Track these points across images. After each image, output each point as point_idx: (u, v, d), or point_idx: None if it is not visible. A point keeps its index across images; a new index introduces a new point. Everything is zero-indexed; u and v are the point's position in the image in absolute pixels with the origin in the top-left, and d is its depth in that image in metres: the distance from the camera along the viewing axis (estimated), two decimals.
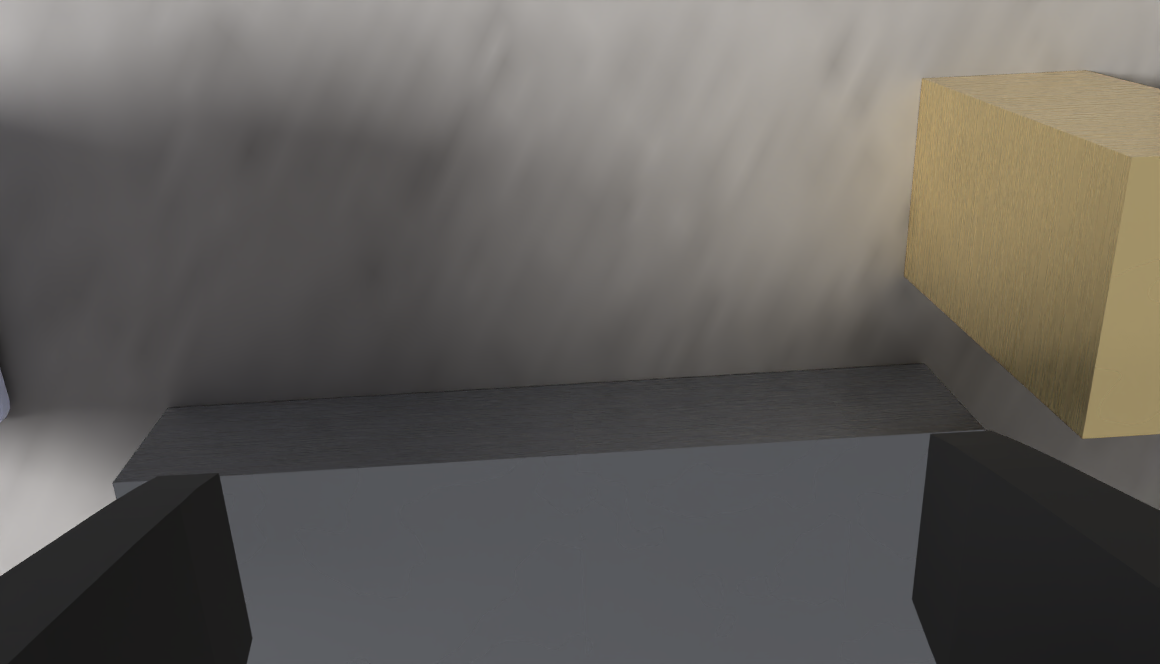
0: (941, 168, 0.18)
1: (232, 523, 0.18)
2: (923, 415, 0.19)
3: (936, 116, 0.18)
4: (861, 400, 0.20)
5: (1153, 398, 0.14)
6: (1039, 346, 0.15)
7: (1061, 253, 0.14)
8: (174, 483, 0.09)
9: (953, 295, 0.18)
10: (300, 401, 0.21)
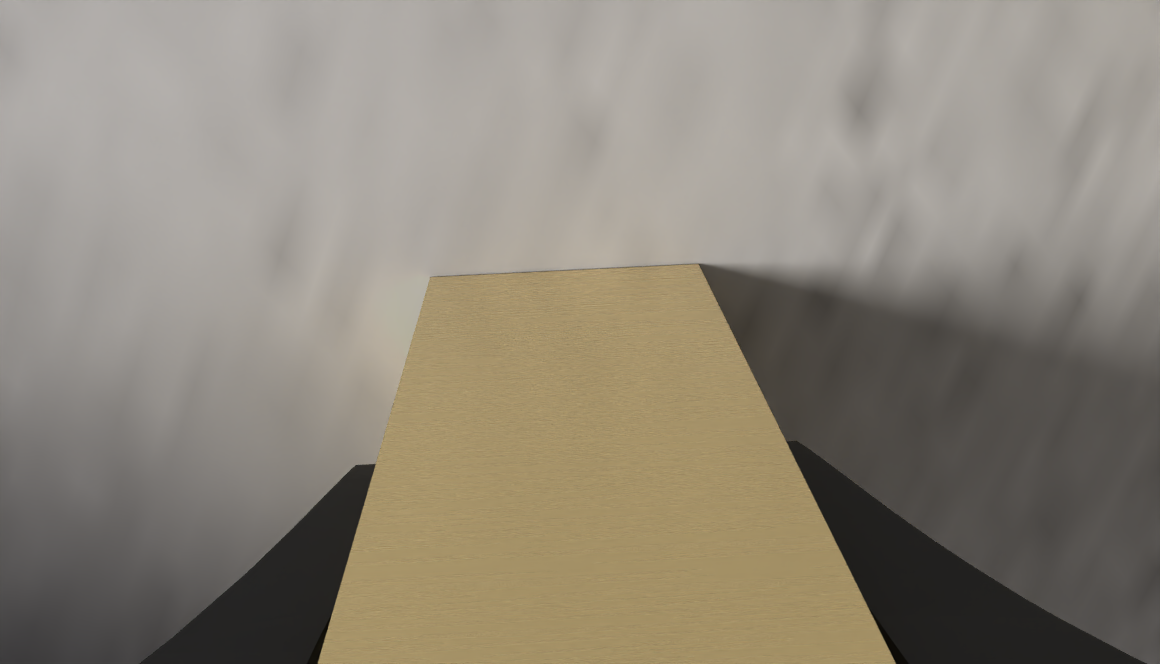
0: None
1: None
2: None
3: None
4: None
5: None
6: None
7: None
8: None
9: None
10: None
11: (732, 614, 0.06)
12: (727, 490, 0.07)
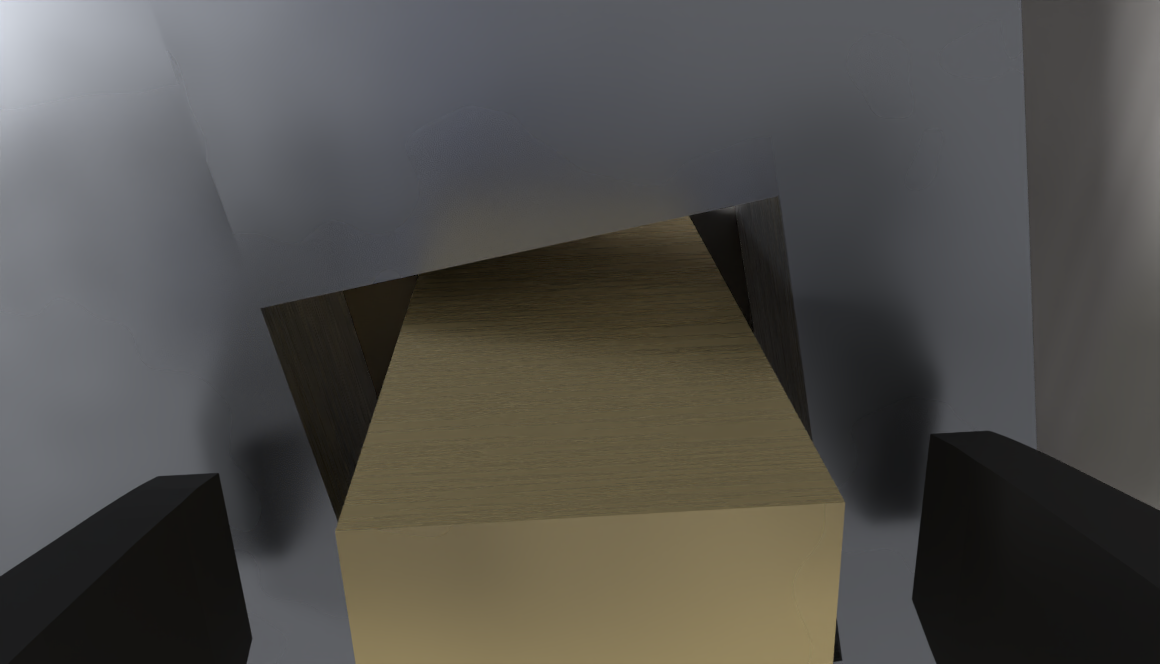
0: None
1: None
2: None
3: None
4: None
5: None
6: None
7: None
8: (174, 483, 0.09)
9: None
10: None
11: (702, 463, 0.07)
12: (703, 376, 0.08)
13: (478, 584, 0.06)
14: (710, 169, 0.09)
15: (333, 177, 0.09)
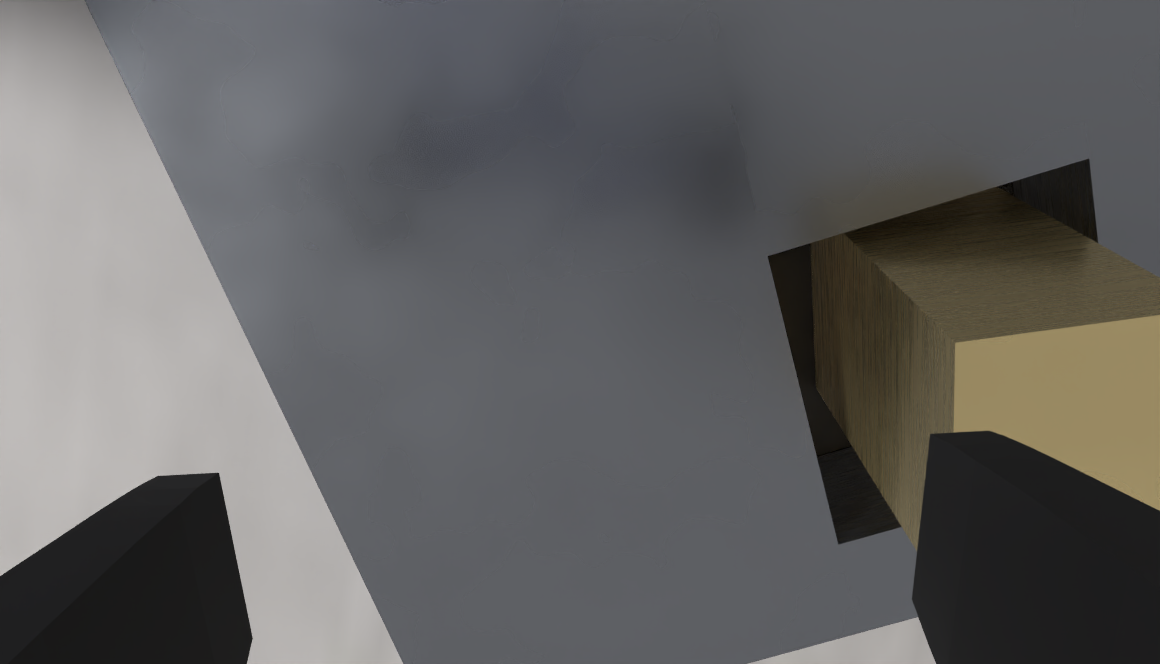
0: (830, 293, 0.18)
1: None
2: None
3: (821, 240, 0.18)
4: None
5: None
6: (912, 500, 0.15)
7: (917, 415, 0.14)
8: (174, 483, 0.09)
9: (850, 422, 0.18)
10: None
11: (1122, 300, 0.13)
12: (1085, 264, 0.14)
13: (1022, 367, 0.12)
14: (1047, 145, 0.15)
15: (820, 171, 0.15)
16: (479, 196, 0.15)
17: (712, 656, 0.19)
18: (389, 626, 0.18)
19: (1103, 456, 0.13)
